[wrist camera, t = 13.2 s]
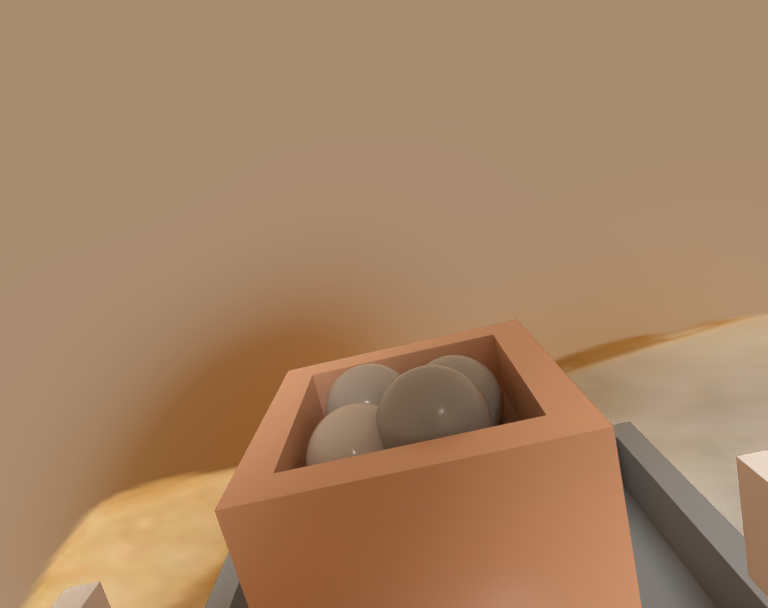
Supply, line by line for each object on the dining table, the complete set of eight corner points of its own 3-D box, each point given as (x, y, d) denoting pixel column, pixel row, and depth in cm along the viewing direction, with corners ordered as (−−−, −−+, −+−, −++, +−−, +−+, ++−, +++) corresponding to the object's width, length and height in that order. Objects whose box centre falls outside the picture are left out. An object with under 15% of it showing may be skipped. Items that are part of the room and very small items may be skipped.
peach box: (564, 568, 20) (511, 291, 18) (673, 813, 12) (606, 378, 10) (359, 608, 21) (280, 343, 18) (340, 867, 13) (199, 467, 10)
